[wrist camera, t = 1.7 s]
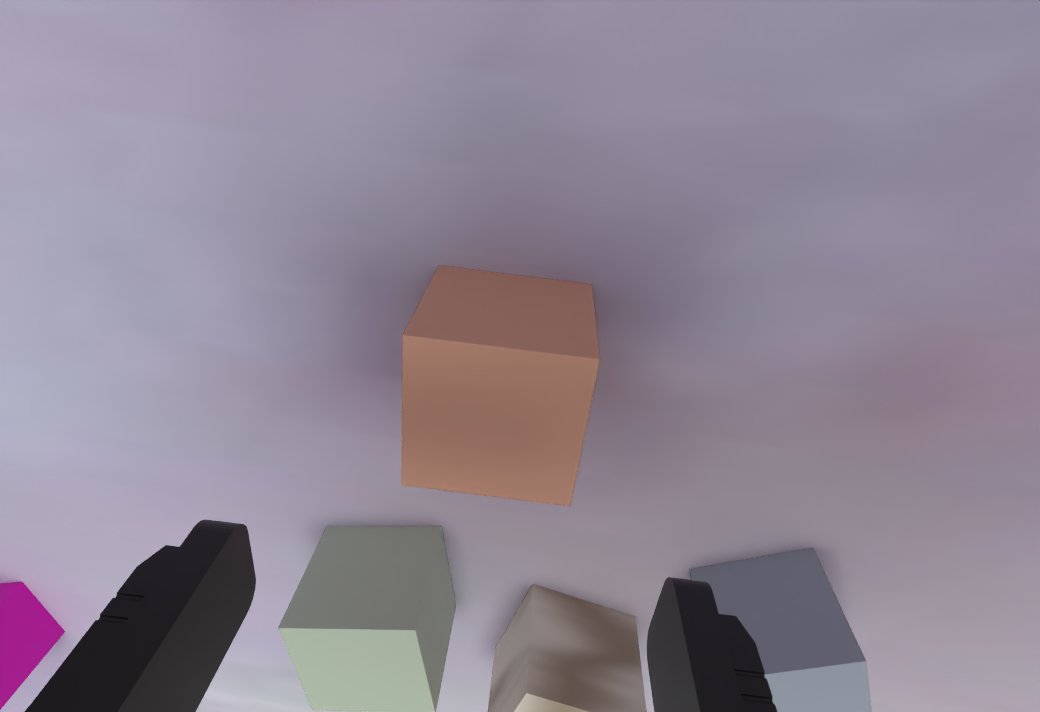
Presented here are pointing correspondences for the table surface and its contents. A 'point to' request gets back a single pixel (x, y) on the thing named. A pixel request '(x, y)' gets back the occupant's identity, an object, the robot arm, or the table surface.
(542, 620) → the cube cream
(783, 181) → the table surface
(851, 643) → the cube slate
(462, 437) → the cube terracotta
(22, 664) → the toy block
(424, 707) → the cube sage
